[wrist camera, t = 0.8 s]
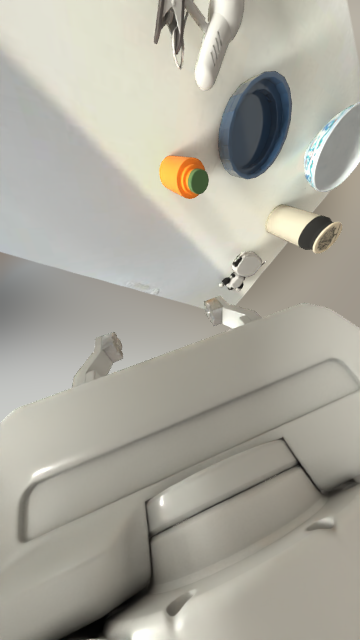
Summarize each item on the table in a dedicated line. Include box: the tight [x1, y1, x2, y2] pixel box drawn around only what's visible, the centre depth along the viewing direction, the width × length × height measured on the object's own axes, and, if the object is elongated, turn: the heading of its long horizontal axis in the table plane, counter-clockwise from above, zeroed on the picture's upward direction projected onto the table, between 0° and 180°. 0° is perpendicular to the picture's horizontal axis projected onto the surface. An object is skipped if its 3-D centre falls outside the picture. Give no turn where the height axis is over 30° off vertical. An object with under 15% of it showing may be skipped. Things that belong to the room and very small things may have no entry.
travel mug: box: [266, 205, 342, 253], centre depth 48 cm, size 8×8×18 cm
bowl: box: [218, 71, 292, 179], centre depth 36 cm, size 14×14×4 cm
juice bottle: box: [160, 156, 209, 199], centre depth 32 cm, size 6×6×14 cm
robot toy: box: [219, 252, 266, 291], centre depth 61 cm, size 12×4×15 cm
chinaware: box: [304, 102, 360, 192], centre depth 42 cm, size 15×15×8 cm
